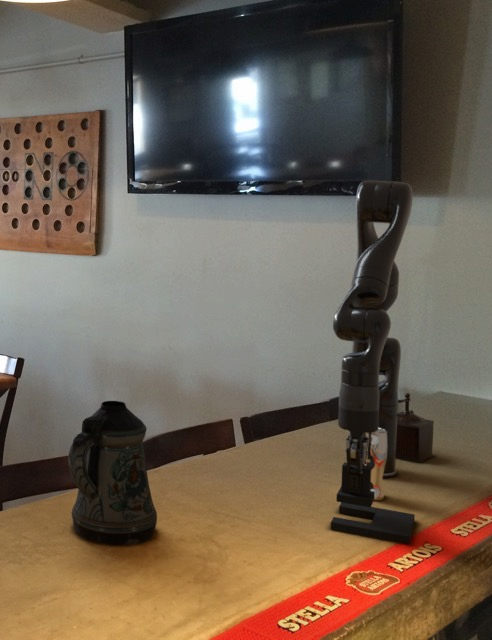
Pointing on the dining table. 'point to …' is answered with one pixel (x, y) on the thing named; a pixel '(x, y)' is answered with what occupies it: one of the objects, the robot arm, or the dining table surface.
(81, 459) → the beer stein
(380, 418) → the robot arm
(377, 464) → the beer glass
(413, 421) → the brown coffee grinder
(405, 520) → the large pad
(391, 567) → the dining table surface
